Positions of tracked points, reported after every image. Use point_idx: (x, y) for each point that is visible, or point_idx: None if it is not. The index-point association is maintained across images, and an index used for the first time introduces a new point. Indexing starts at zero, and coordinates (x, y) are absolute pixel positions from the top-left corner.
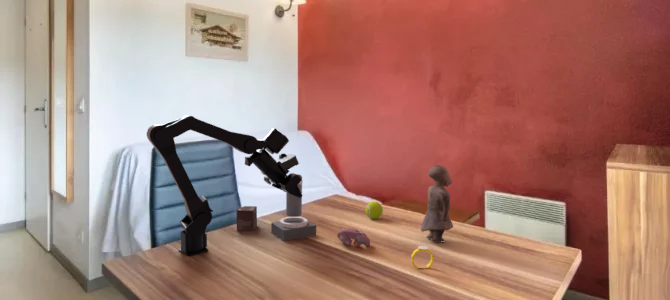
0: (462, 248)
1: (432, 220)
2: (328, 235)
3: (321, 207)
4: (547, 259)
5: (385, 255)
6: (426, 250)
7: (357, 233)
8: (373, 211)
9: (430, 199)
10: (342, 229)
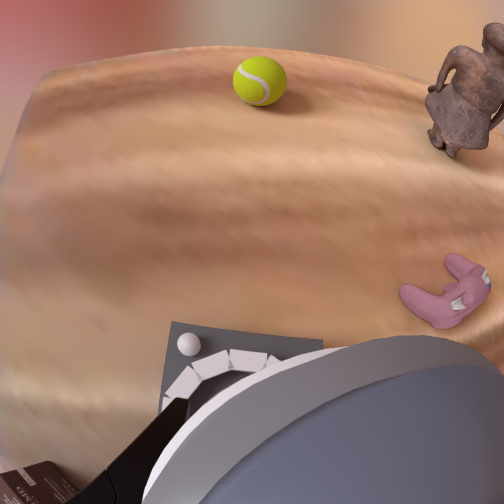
0: (473, 154)
1: (482, 132)
2: (332, 306)
3: (58, 135)
4: (497, 136)
5: (492, 277)
6: None
7: (488, 289)
8: (279, 90)
9: (486, 90)
10: (455, 305)
